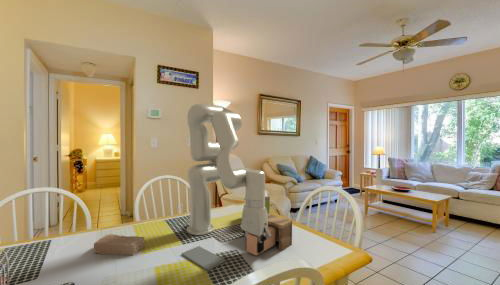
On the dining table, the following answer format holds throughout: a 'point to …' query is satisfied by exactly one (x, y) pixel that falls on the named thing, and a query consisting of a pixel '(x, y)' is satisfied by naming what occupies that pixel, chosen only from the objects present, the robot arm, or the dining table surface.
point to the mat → (203, 258)
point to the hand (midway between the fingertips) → (254, 248)
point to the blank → (253, 241)
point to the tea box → (267, 201)
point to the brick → (119, 245)
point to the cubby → (281, 230)
